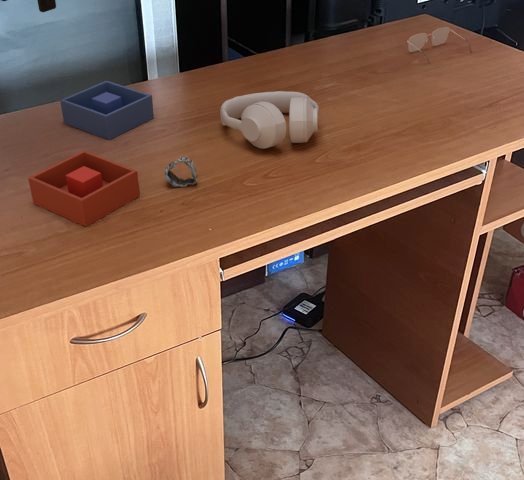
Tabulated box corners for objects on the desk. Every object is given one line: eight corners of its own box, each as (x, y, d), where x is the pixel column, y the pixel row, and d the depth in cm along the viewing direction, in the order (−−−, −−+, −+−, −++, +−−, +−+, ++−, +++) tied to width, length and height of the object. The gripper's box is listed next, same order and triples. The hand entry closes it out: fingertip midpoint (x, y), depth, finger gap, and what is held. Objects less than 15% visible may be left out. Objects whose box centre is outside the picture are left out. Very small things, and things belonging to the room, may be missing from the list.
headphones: (338, 144, 143) (299, 116, 159) (339, 101, 138) (298, 76, 154) (242, 159, 138) (211, 128, 154) (239, 114, 134) (208, 87, 150)
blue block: (94, 118, 151) (91, 98, 149) (109, 111, 154) (106, 91, 151) (108, 123, 149) (106, 103, 147) (123, 116, 152) (121, 96, 149)
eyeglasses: (448, 42, 186) (451, 25, 183) (472, 54, 182) (476, 37, 179) (404, 53, 180) (407, 36, 177) (428, 67, 176) (431, 49, 173)
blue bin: (63, 123, 151) (59, 100, 148) (109, 102, 158) (106, 80, 155) (109, 140, 145) (106, 116, 142) (154, 118, 153) (151, 95, 150)
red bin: (33, 203, 127) (27, 177, 124) (88, 174, 135) (84, 149, 132) (85, 226, 122) (81, 200, 119) (140, 195, 129) (137, 170, 126)
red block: (69, 197, 128) (65, 175, 125) (87, 187, 130) (83, 165, 128) (86, 204, 126) (82, 182, 123) (104, 194, 128) (101, 172, 126)
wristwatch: (183, 187, 135) (162, 167, 132) (204, 170, 132) (183, 150, 129) (181, 197, 132) (159, 178, 130) (202, 181, 130) (180, 161, 127)
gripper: (-49, -115, 122) (-23, 0, 133) (25, -101, 115) (46, 20, 126) (-10, -122, 127) (12, -10, 138) (64, -109, 119) (80, 8, 130)
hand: (28, 4), depth 132 cm, fingers open, 9 cm apart
